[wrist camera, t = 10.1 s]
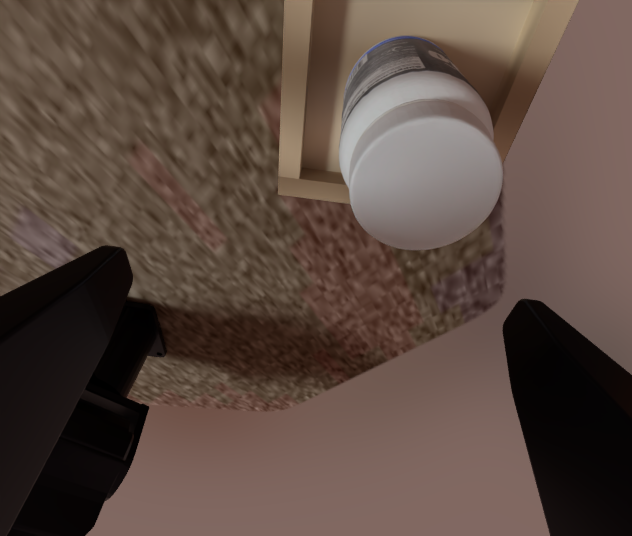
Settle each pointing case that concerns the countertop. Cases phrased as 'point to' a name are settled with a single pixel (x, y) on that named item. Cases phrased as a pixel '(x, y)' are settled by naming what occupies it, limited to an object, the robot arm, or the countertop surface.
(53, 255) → the countertop surface
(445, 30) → the beech tray
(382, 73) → the pill bottle
